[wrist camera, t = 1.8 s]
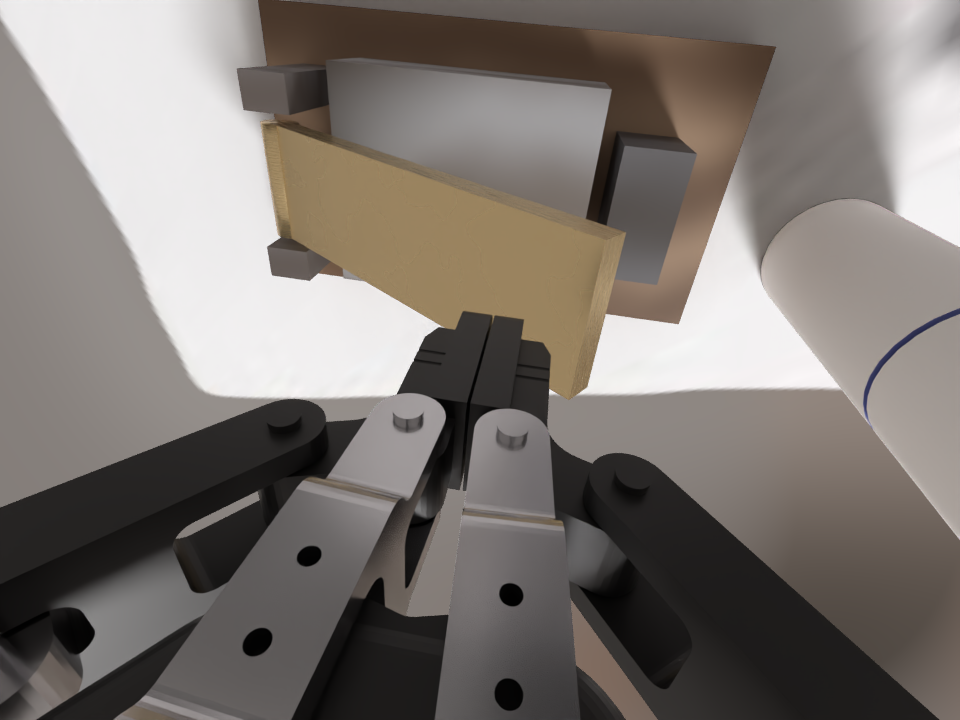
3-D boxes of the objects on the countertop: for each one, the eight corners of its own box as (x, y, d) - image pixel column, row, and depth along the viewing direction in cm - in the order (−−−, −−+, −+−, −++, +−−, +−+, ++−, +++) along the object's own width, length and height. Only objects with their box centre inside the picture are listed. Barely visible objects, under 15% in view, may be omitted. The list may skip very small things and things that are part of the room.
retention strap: (287, 118, 22) (253, 120, 21) (631, 230, 13) (599, 242, 12) (301, 225, 25) (271, 231, 24) (592, 383, 15) (563, 404, 14)
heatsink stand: (287, 2, 26) (173, -14, 18) (754, 46, 24) (838, 47, 16) (316, 253, 34) (243, 313, 26) (669, 302, 32) (701, 381, 24)
